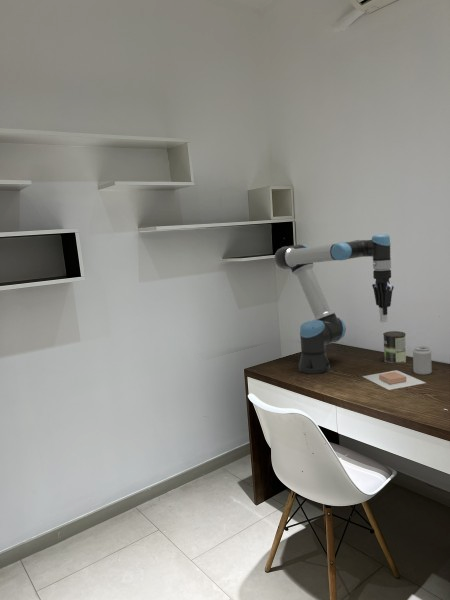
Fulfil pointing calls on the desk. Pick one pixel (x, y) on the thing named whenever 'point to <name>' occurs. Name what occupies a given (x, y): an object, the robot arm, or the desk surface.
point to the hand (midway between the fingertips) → (383, 321)
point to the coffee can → (394, 347)
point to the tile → (392, 377)
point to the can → (422, 360)
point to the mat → (409, 382)
